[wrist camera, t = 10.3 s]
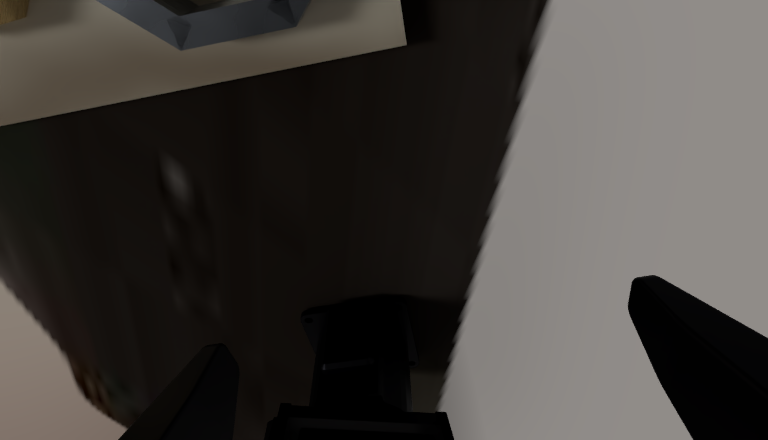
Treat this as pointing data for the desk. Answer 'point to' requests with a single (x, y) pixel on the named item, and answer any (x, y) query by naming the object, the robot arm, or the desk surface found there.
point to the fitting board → (163, 53)
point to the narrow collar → (13, 10)
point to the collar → (209, 18)
